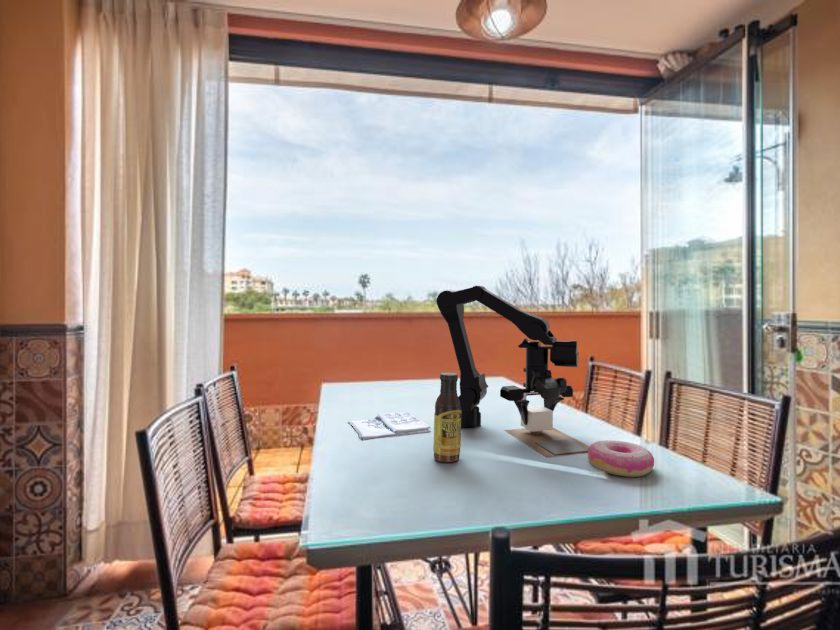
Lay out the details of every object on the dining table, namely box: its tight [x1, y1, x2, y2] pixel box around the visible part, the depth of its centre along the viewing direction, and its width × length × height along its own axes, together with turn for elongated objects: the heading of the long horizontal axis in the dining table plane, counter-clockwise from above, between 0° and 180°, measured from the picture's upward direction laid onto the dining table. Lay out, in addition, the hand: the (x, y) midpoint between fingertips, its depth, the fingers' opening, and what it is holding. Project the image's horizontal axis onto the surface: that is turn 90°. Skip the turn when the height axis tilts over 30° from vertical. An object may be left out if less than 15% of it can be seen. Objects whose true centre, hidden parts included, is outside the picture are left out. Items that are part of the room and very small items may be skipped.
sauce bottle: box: [433, 372, 462, 463], centre depth 110 cm, size 7×6×20 cm
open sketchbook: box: [347, 412, 431, 440], centre depth 137 cm, size 19×20×2 cm
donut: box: [587, 439, 655, 478], centre depth 104 cm, size 14×13×5 cm
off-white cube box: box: [520, 405, 554, 432], centre depth 126 cm, size 6×6×5 cm
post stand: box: [503, 427, 591, 458], centre depth 121 cm, size 14×22×4 cm, turn 16°
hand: (536, 423), depth 126 cm, fingers closed on off-white cube box, 6 cm apart
